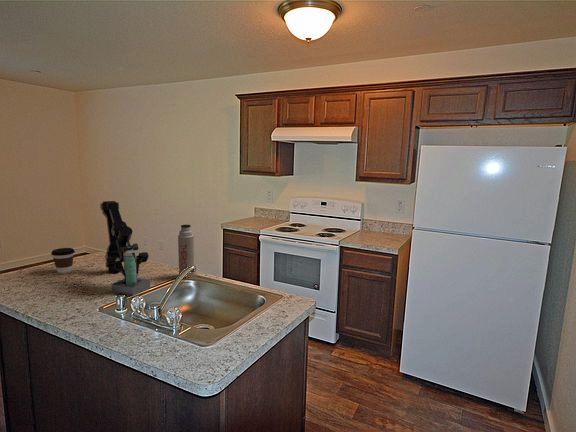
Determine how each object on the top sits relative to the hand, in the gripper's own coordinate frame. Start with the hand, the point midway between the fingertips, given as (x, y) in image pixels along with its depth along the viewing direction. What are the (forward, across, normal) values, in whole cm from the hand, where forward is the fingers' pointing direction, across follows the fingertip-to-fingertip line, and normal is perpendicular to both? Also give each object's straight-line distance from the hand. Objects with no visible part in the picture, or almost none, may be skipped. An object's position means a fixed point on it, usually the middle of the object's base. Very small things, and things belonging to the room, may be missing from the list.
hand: (131, 274), depth 173 cm
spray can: (+4, 0, +6) cm, 7 cm away
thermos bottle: (+2, +30, +10) cm, 31 cm away
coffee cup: (-28, -22, +41) cm, 54 cm away
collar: (+5, 0, +6) cm, 8 cm away
